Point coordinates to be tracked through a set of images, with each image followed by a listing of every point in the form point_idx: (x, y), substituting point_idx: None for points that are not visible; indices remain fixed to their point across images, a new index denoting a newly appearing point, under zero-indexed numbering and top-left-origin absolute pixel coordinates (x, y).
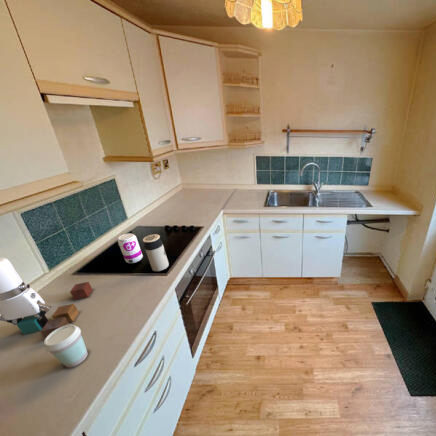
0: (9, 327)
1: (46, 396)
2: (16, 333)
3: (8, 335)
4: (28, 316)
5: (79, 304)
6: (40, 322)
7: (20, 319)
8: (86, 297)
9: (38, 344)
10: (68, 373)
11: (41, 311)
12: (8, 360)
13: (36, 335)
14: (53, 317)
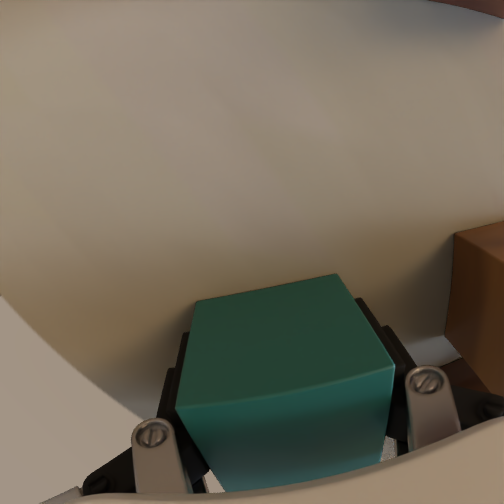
0: (25, 301)
1: None
2: (151, 378)
3: (107, 382)
4: (257, 437)
5: (497, 95)
6: None
7: (189, 459)
8: (499, 16)
9: (389, 442)
10: None
11: (444, 426)
12: None
13: None
14: (499, 392)
